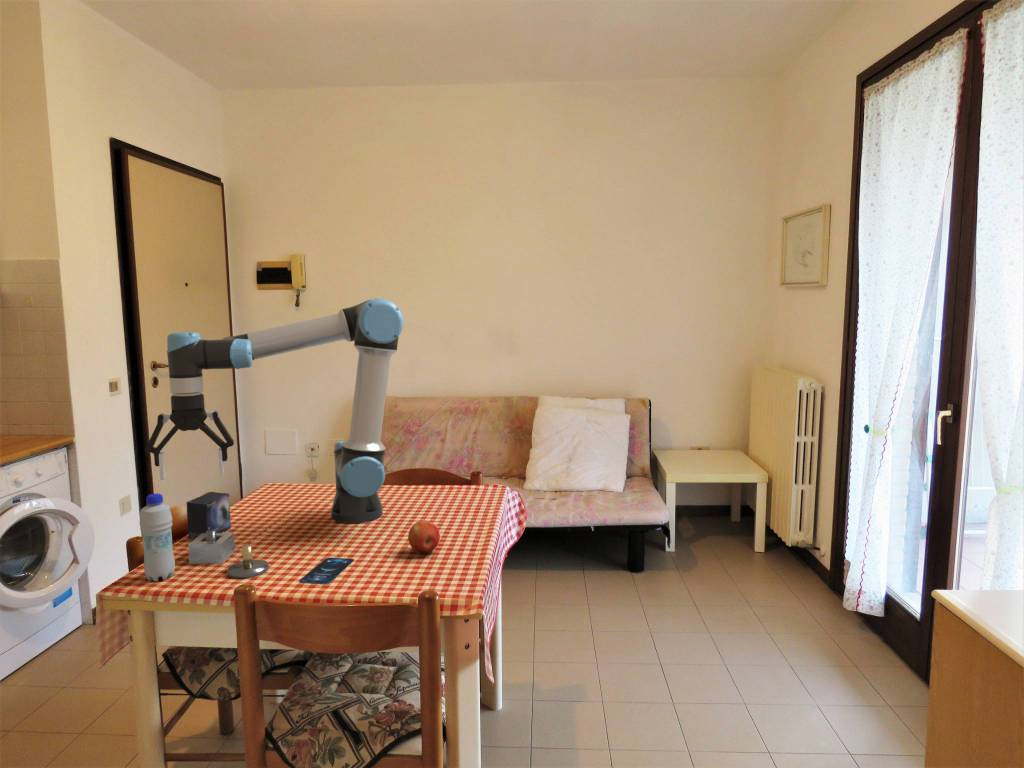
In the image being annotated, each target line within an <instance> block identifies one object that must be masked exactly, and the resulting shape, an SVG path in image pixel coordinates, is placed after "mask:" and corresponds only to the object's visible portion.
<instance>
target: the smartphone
mask: <svg viewBox="0 0 1024 768" xmlns="http://www.w3.org/2000/svg"><path fill="white" fill-rule="evenodd" d="M354 562H355V559H354V558H346V557H345V558H344V557H326V558H325V559H323V560H322V561H321V562H319V564H317V565H316V566H315V567H313V568H312V569H310V571H309V572H308V573H306V574H305V575H303V576H302V577H301V578H300V579H299V580H298V582H299V583H300V584H314V585H329V584H331V583H332V582H333V581H335V580H336V578H338V577H339V576H340V575H341V574H342V573H343V572H344V571H345V570H346V569H348V567H349V566H350V565H351V564H353V563H354Z"/></svg>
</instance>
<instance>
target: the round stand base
mask: <svg viewBox="0 0 1024 768" xmlns="http://www.w3.org/2000/svg"><path fill="white" fill-rule="evenodd" d="M241 555H242V561H238V562H235V563H233V564H231V565H230V566H229V567H227V576H228V577H230V578H232V579H233V578H234V579H237V580H238V579H243V580H244V579H248V578H254V577H258V576H260V575H263V574H265V573H266V572H267V571H268V570H269V562H268V561H267V560H264V559H256V558H255V559H254V558H253V546H252V544H245V545H243V546H241Z"/></svg>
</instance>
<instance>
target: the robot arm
mask: <svg viewBox="0 0 1024 768" xmlns="http://www.w3.org/2000/svg"><path fill="white" fill-rule="evenodd" d="M403 327H404V317H403V314H402V312H401V310H400V308H399V307H398V306H397V305H396V304H394V302H392V301H390V300H388V299H384V298H373V299H368V300H365V301H363V302H360V303H359V304H356V305H352V306H350V307H346V308H341V309H339V311H338V313H335V314H330V315H329V314H328V315H325V316H320V317H316V318H312V319H308V320H302V321H298V322H292V323H289V324H284V325H280V326H276V327H270V328H266V329H262V330H256V331H252V332H247V333H243V334H238V335H233V336H232V335H230V336H225V337H223V338H222V339H202V337H201V335H200V333H199V332H197V331H196V332H195V331H193V332H192V331H191V332H188V331H187V332H185V331H184V332H171V333H169V334H168V335H167V337H166V341H167V342H166V343H167V345H166V346H167V347H166V348H167V350H166V354H167V364H168V366H167V367H168V375H169V376H168V377H169V379H168V380H169V393H170V394H172V395H171V396H170V406H171V407H170V408H171V413H170V414H165V413H160V414H159V415H157V420H156V421H157V422H156V426H155V427H154V430H153V432H152V434H151V436H150V439H149V441H148V442H147V444H146V447H145V449H144V451H145V452H146V453H151V454H153V456H154V457H153V458H154V459H153V460H154V465H155V467H159V476H160V481H162V480H165V479H166V477H167V474H166V461H165V460H166V459H165V452H164V451H162V450H163V448H164V447H165V446H166V445H167V444H168V442H169V441H170V440H171V439H172V438H173V436H174V435H176V433H177V432H178V431H179V430H180V431H182V432H187V431H197V430H198V429H199V430H201V432H203V433H204V434H205V435H206V436H207V437H209V439H210V440H212V441H213V442H214V443H215V444H216V445H217V446H218V447H219V448H218V449H217V452H218V453H217V454H218V469H219V471H218V473H219V476H223V475H224V473H225V470H224V468H225V466H224V462H227V461H228V448H230V447H233V446H235V445H234V444H235V440H234V439H233V438H232V435H231V434H230V432H229V431H228V430H227V428H226V426H225V425H224V423H223V422H222V420H221V417H220V413H219V411H218V410H214V411H210V412H209V411H208V412H206V409H205V408H206V407H205V394H203V393H202V392H204V380H203V379H204V378H203V377H204V376H203V371H204V370H226V369H227V370H229V369H231V370H232V369H234V370H235V369H236V370H240V369H246V368H247V369H249V368H251V367H252V365H253V361H254V360H259V359H264V358H268V357H272V356H276V355H281V354H286V353H290V352H293V351H294V352H295V351H299V350H304V349H307V348H312V347H318V346H321V345H325V344H329V343H335V342H340V341H343V340H344V341H346V342H348V343H350V342H354V344H353V347H354V348H355V349H356V350H357V351H358V359H357V367H356V375H355V383H354V384H355V385H354V393H353V402H352V409H351V419H350V426H349V436H348V439H346V440H340V441H337V442H335V443H334V447H333V448H334V449H333V454H334V469H335V495H334V498H333V502H332V505H331V508H330V516H331V517H330V519H331V520H333V521H334V522H336V523H342V524H360V523H366V522H371V521H374V520H377V519H379V518H381V517H382V515H383V514H384V511H383V509H384V508H383V504H382V502H381V498H380V496H379V494H378V491H379V490H380V489H381V488H382V487H383V485H384V483H385V481H386V479H385V478H386V472H385V471H386V470H385V467H384V463H385V462H384V461H385V453H386V447H385V445H384V443H382V441H381V440H382V434H383V433H382V431H383V422H384V415H385V414H384V413H385V406H386V397H387V390H388V381H389V373H390V363H391V358H392V356H393V355H394V354H395V353H397V351H398V345H399V337H400V335H401V333H402V331H403ZM207 418H209V420H211V421H213V422H214V424H215V426H216V428H217V429H218V431H219V432H220V434H221V436H222V437H223V439H222V438H221V437H220V436H219V435H218V434H217V433H216V432H215V431H213V430H212V429H211V428H210V427H209V425H207V424H206V422H205V421H206V420H207ZM169 420H170V421H171V422H172V424H173V425H174V426H173V427H172V428H171V429H170V430H169V432H168V433H167V434H166V435H165V437H163V439H162V440H161V441H160V443H159V444H158V445H157V446H155V444H156V442H157V439H158V437H159V435H160V433H161V431H162V429H163V427H164V425H165V424H166V423H168V421H169ZM224 440H225V441H224Z"/></svg>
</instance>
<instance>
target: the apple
mask: <svg viewBox="0 0 1024 768" xmlns="http://www.w3.org/2000/svg"><path fill="white" fill-rule="evenodd" d="M407 536H408V537H407V538H408V539H407V540H408V544H409V545H410V547H411V548H412V550H413V551H414V552H416V553H418V554H421V555H424V554H429V553H431V552H432V551H434V550H435V549H436V548H437V547H438V545H439V544H440V540H441V535H440V531H439V529H438V527H437V526H436V524H435V523H433V522H431V521H429V520H425V519H424V520H423V519H421V520H418V521H417V522H415V523H413V524H412V526H411V527H410V528H409V531H408V535H407Z"/></svg>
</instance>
